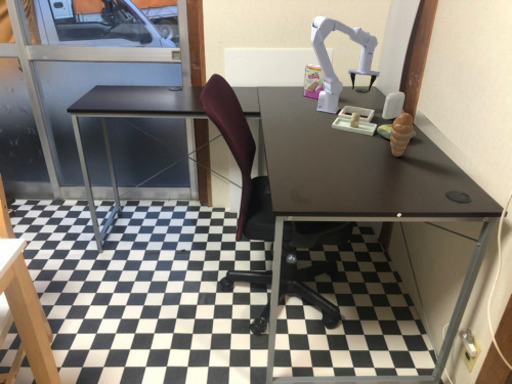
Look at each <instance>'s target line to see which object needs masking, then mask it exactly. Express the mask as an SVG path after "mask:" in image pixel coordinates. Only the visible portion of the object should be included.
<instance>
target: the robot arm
mask: <svg viewBox="0 0 512 384" xmlns="http://www.w3.org/2000/svg"><path fill="white" fill-rule="evenodd" d="M310 26H311V33H310V34H311V35H310V43H311V44H310V45H311V46H312V50H313V51H314V54H315V56H316V59H317V62H318V66H320V68H321V70H322V73H323V77H322V78H323V86H324V87H325V91H321V92H320V94H319V98H318V99H317V100H318V101H317V108H316V112H317V111H318V112H323V113H331V114H337V113H338V111H339V110H340V107H339V98H340V93H341V92H342V91H343V88H344V84H343V82H342V81H340V79H339V77H338V75H337V74H336V73H335V70H334V67H333V65H332V62H331V59H330V56H329V53H328V51H327V48H326V46H325V39H327V37H328V36H329V35H330V34H331V33H332V32H335V31H339V32H340V33H343V34H345V35H347V36H348V38H349V40H350V41H352V42H355V43H356V44H359V45H360V46H361V50H360V57H359V63H358V68H357V69H356V68H355V69H354V68H352V69H351V68H350V69H348V73H347V74H348V75H350V80H351V86H352V90H355V84H356V83H355V81H356V75H357V76H358V75H360V76H368V77H369V76H370V81H369V85H368V92H370V91H371V88H372V87H373V84H374V83H375V81H376V80H377V78H379V77H380V74H381V72H380V71H376V70H375V71H374V70H371V69H372V64H373V59H374V52H375V49H376V47H377V46H378V44H379V42H378V39H377V37H376V35H372V34H371V33H370V32H369V31H365V30H363V28H362V27H360V26H358V27H353V28H351V27H350V26H348V25H346V24H345V23H343V22H342V21H339V20H337V19H334V18H331V17H328V16H324V15H322V14H319V15H317V16H315V17H314V18H313V20H312V22H311V25H310Z"/></svg>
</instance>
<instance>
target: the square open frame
mask: <svg viewBox="0 0 512 384" xmlns="http://www.w3.org/2000/svg"><path fill="white" fill-rule="evenodd" d="M346 113H349V115H348V114H346ZM352 113H359V114H360V120H359V121H361V122H366V123H371V121H372V119H373V118H374V113H375V109H369V108H364V107H363V108H362V107H357V106H351V105H344V106H343V108H342V109H341V111H339V113H338V115H337V117H338V118H343V119H349V120H351V117H352V115H350V114H352ZM361 116H366V117H367V118H366V117H361Z"/></svg>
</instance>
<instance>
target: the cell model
mask: <svg viewBox="0 0 512 384" xmlns="http://www.w3.org/2000/svg"><path fill="white" fill-rule="evenodd" d="M392 124H393V123H392ZM392 124H381V125H380V126H378V127H377V128H376V130H377V133H378V135H380V136H381V137H383V138H385V139H388V140H390V136H391V129H392ZM416 135H417V132H416V131H415V130H414V129H413V131H412V136H411V138H410V139H412V138H414V137H416Z"/></svg>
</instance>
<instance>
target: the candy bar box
mask: <svg viewBox="0 0 512 384" xmlns="http://www.w3.org/2000/svg"><path fill="white" fill-rule="evenodd" d="M322 77H323V73H322V70H321V68H320V65H319V64H318V65H317V64H313V63H308V64H306V65H305V69H304V78H303V88H302V97H306V98H311V99H315V100H318V98H319V94H320V92H321V91H325V87H324V86H323V78H322Z"/></svg>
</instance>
